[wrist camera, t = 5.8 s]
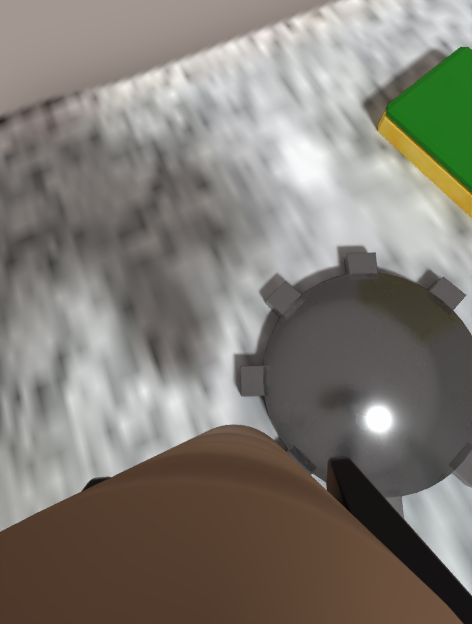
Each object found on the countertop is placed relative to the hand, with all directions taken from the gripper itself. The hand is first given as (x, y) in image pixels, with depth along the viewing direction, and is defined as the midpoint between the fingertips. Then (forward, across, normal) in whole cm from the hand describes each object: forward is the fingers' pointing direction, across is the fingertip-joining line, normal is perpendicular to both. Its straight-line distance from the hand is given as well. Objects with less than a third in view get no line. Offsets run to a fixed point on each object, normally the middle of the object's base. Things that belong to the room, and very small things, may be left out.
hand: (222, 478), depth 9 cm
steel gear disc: (+12, -8, +8) cm, 16 cm away
